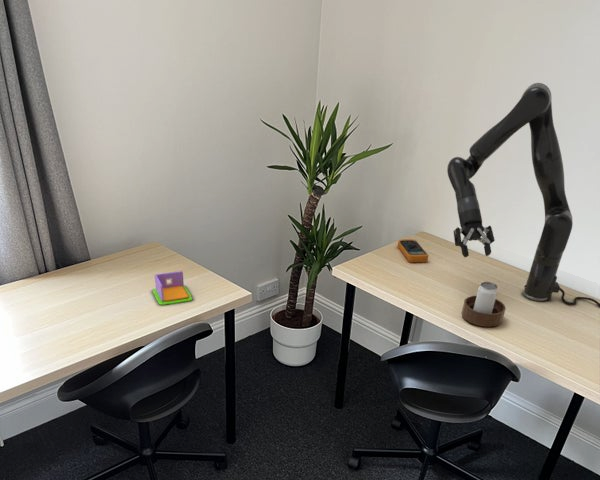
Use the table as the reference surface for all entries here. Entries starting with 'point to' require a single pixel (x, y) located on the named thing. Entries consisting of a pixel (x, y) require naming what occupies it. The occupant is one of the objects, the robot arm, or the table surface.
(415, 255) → the multimeter
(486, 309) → the can
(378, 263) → the table surface
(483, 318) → the bowl
